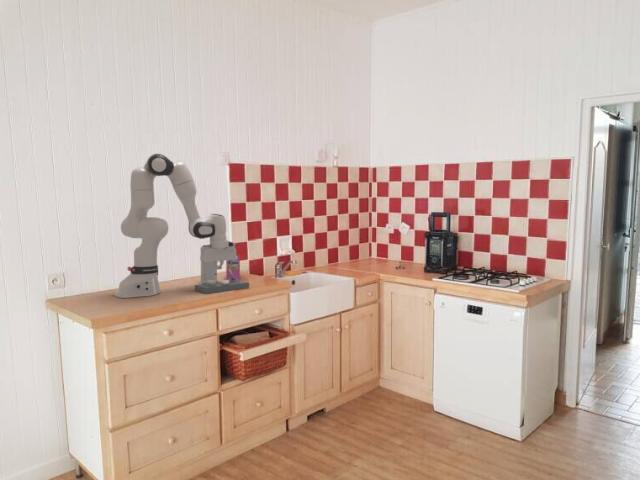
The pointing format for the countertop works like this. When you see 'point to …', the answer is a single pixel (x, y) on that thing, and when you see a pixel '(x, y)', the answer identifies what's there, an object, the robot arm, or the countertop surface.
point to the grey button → (211, 282)
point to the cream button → (224, 282)
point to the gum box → (233, 268)
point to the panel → (221, 286)
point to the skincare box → (208, 272)
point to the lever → (230, 271)
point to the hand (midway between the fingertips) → (218, 269)
